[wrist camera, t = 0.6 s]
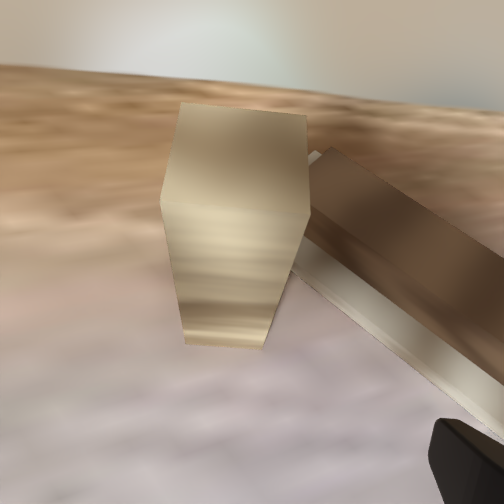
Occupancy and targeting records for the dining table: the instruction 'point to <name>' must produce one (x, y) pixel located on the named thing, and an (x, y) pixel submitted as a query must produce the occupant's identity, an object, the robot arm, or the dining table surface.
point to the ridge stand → (408, 281)
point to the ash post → (234, 218)
